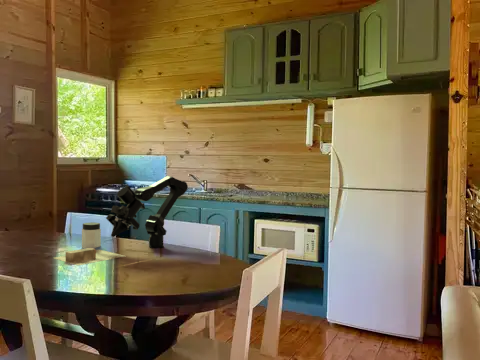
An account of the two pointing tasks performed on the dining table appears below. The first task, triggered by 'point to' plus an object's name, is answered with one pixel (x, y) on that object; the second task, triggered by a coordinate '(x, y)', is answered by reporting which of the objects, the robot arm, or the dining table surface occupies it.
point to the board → (100, 256)
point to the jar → (91, 235)
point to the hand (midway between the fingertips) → (112, 236)
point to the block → (80, 255)
